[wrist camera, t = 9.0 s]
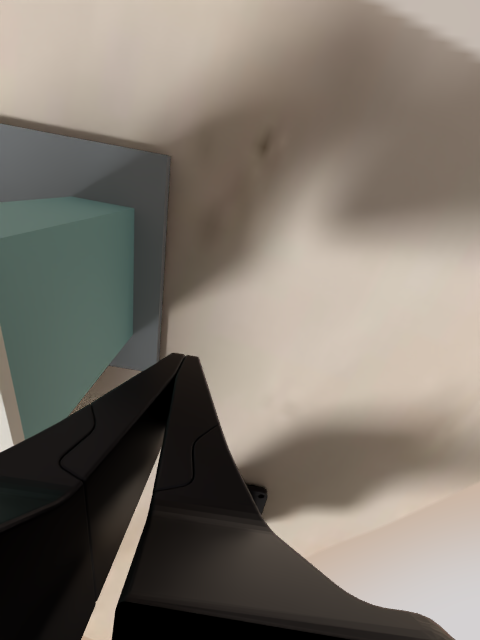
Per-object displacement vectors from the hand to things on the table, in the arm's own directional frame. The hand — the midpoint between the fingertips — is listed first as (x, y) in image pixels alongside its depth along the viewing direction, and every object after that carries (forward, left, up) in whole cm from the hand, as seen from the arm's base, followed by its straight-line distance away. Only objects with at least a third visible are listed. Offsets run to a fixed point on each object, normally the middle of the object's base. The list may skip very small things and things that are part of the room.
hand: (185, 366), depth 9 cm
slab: (0, +6, -7) cm, 9 cm away
